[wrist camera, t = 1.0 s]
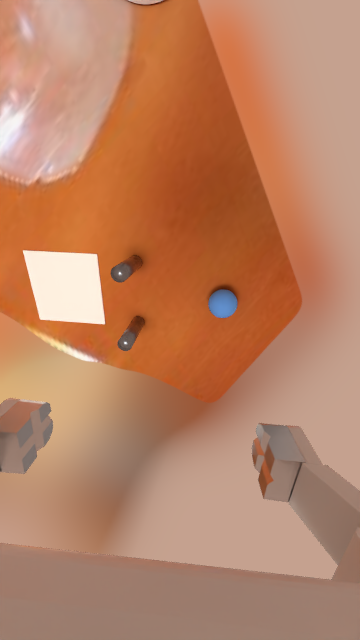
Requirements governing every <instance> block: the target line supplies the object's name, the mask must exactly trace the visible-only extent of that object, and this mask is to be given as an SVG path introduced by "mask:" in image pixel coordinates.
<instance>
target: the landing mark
mask: <svg viewBox="0 0 360 640" xmlns="http://www.w3.org/2000/svg"><path fill="white" fill-rule="evenodd" d="M23 253H24V257H25V261H26V265H27V269H28V273H29V277H30V281H31V285H32V289H33V293H34V297H35V301H36V305H37V309H38V313H39V317H40V319H41V320H55V321H68V322H82V323H95V324H105V316H104V307H103V299H102V290H101V282H100V273H99V265H98V256H97V254H86V253H67V252H47V251H28V250H23Z"/></svg>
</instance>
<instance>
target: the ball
mask: <svg viewBox="0 0 360 640" xmlns="http://www.w3.org/2000/svg"><path fill="white" fill-rule="evenodd" d="M208 305H209V309H210V311H211V313H212V314H213V315H215V316H216V317H219V318H226V317H229V316H231V315H232V314H233V313H234V312H235V311H236V308H237V299H236V296H235V295H234V294H233V293H232V292H231V291H229V290H225V289H222V290H218V291H216V292H214V293H213V294H212V295H211V297H210V299H209V303H208Z"/></svg>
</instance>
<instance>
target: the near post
mask: <svg viewBox="0 0 360 640" xmlns="http://www.w3.org/2000/svg"><path fill="white" fill-rule="evenodd" d="M141 266H142V259H141V258H140V257H139V256H137V255H133V256H131V257H129V258H128V259H126V260H125V261H123V262H121V263H120V264H118V265H116V266H115V267H113V268H112V270H111V276H112V278H113V279H114V280H115V281H116V282H124V281H125V280H126V279H127V278H128V277H130V276H131V275H132V274H133V273H134V272H135V271H136V270H138V269H139V268H140V267H141Z"/></svg>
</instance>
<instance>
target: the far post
mask: <svg viewBox="0 0 360 640" xmlns="http://www.w3.org/2000/svg"><path fill="white" fill-rule="evenodd" d="M143 325H144V319H143V318H142V317H140V316H136V317H134V318H133V320H132V321H131V323H130V324H129V326H128V327H127V329H126V330H125V332H124V333H123V335H122V336H121V338H120V339H119V341H118V347H119V348H120V349H121V350H123V351H128V350H130V349H131V347H132V346H133V344H134V342H135V340H136V338H137V336H138V334H139V333H140V331H141V329H142V327H143Z"/></svg>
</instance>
